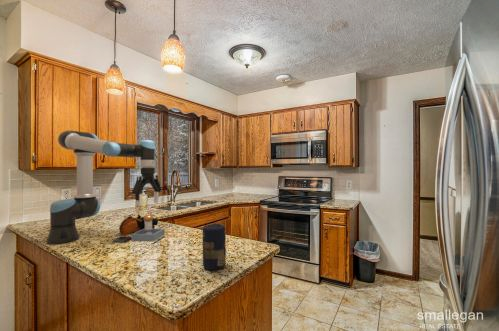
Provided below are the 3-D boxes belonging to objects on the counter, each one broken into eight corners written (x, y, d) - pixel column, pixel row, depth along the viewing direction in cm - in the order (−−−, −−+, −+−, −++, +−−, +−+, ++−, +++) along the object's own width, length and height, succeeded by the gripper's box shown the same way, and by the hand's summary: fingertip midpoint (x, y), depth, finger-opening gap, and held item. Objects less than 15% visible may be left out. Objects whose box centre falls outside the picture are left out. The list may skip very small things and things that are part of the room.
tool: (153, 243, 161) (161, 219, 165) (120, 237, 144) (129, 211, 148) (146, 240, 166) (154, 218, 170) (113, 234, 149) (123, 210, 153)
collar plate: (108, 245, 134) (107, 240, 134) (119, 239, 144) (119, 235, 144) (125, 245, 133) (125, 241, 133) (135, 240, 143) (135, 235, 143)
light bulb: (143, 240, 139) (143, 217, 139) (143, 237, 144) (143, 215, 143) (153, 239, 141) (153, 216, 141) (153, 236, 146) (152, 214, 146)
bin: (131, 243, 137) (131, 234, 137) (144, 236, 149) (143, 228, 149) (153, 243, 135) (153, 234, 135) (164, 237, 148) (164, 228, 148)
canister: (204, 263, 107) (203, 221, 107) (226, 261, 108) (225, 220, 108) (201, 272, 98) (200, 226, 98) (225, 271, 98) (225, 225, 98)
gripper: (135, 167, 129) (135, 208, 129) (167, 167, 153) (167, 201, 153) (124, 167, 132) (124, 207, 132) (157, 167, 155) (158, 201, 155)
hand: (147, 204), depth 142 cm, fingers open, 13 cm apart
